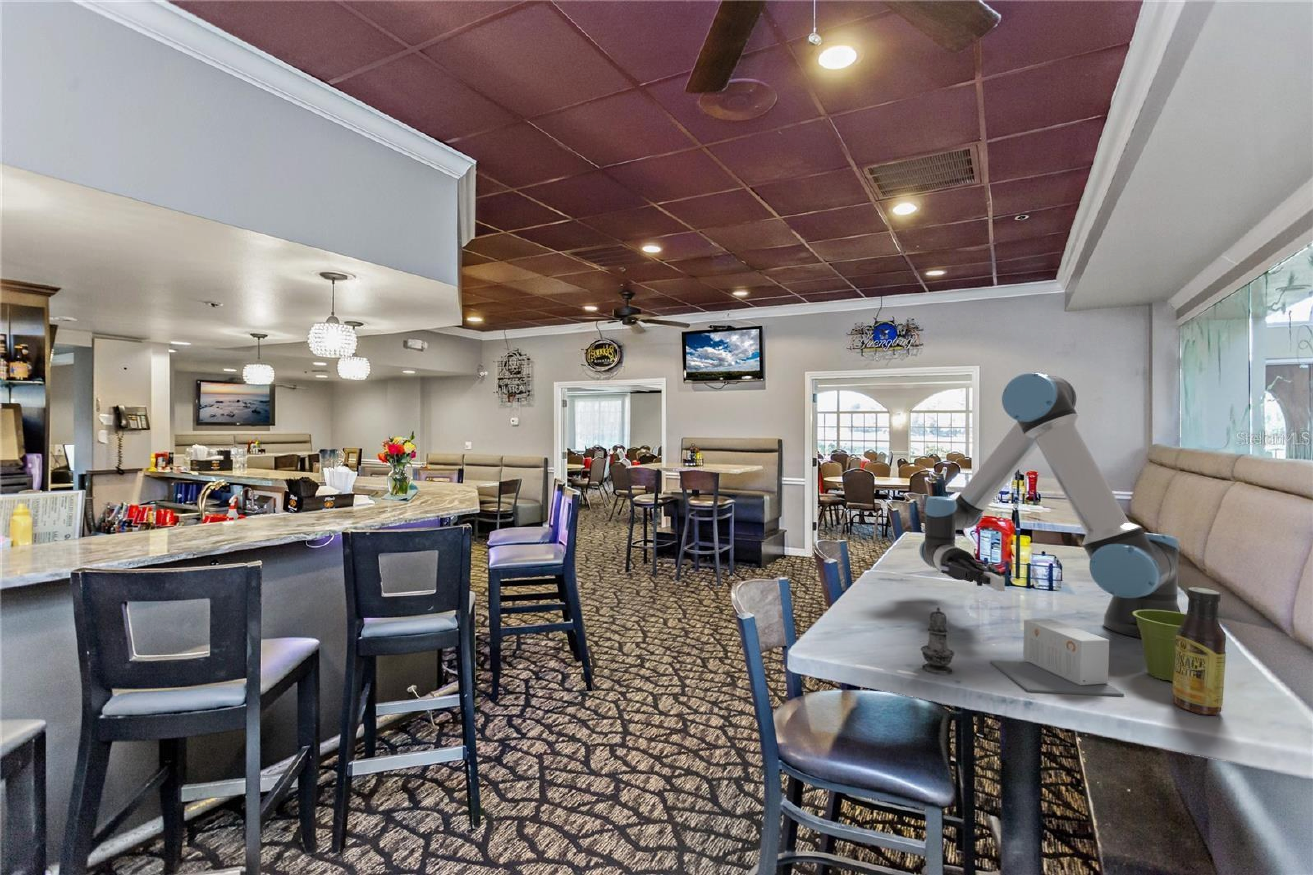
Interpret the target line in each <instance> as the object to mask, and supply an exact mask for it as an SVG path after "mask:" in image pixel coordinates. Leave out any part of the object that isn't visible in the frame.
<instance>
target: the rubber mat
mask: <svg viewBox="0 0 1313 875" xmlns="http://www.w3.org/2000/svg"><path fill="white" fill-rule="evenodd" d="M989 663H990V664H992V666H994V667H996V668H997V669H998V670H999V671H1000V672H1001V673H1003V674H1004V675H1005V676H1006V677H1008V678H1009V679H1010V680H1012V681H1013V682H1015V683H1016V684H1017V685H1018V686H1020V688H1022V689H1023V690H1024V691H1026V692H1027V693H1042V694H1044V693H1045V694H1047V693H1048V694H1065V695H1067V694H1068V695H1086V696H1087V695H1088V696H1089V695H1091V696H1108V697H1110V696H1112V697H1125V693H1123V692H1122V691H1120V690H1119V689H1117V688H1115V687H1113V686H1111V685H1110V684H1109V683H1104V684H1091V685H1078V684H1076V683H1073V682H1071V681H1069V680H1067V679H1065V678H1063V677H1060V676H1058V675H1056V674H1054V673H1052V672H1049V671H1047V670H1045V669H1043V668H1041V667H1038V666H1036V665H1034V664H1032V663H1030V662H1028V661H1013V660H992V659H991V660H989Z"/></svg>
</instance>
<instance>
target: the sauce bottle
mask: <svg viewBox="0 0 1313 875" xmlns="http://www.w3.org/2000/svg"><path fill="white" fill-rule="evenodd" d="M1186 594H1187V595H1186V596H1187V598H1188V599H1187V600H1188V601H1187V610H1186V613H1185V614H1186V616H1185V618H1184V620H1183V622H1182V624H1181V626H1180V628H1179V630H1178V633H1177V635H1176V643H1175V644H1176V645H1175V659H1174V676H1173V682H1172V701H1173V703H1174V704H1175V705H1176V706H1177V707H1180V709H1184V710H1187V711H1189V712H1191V713H1194V714H1198V715H1206V716H1216V715H1217V716H1218V715H1219V714H1220V713H1221V712H1222V706H1223V702H1224V700H1223V699H1224V688H1225V686H1224V684H1225V672H1226V670H1225V669H1226V659H1227V658H1226V656H1227V655H1226V654H1227V652H1226V642H1227V636H1226V635H1227V634H1226V632H1225V631H1224V629H1223V628H1222V626H1221V625H1220V623H1219V617H1220V616H1219V615H1218V613H1219V603H1220V601H1221V592H1219V591H1216V590H1214V589H1210V588H1203V587H1195V586H1194V587H1188V588H1187V593H1186Z"/></svg>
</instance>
